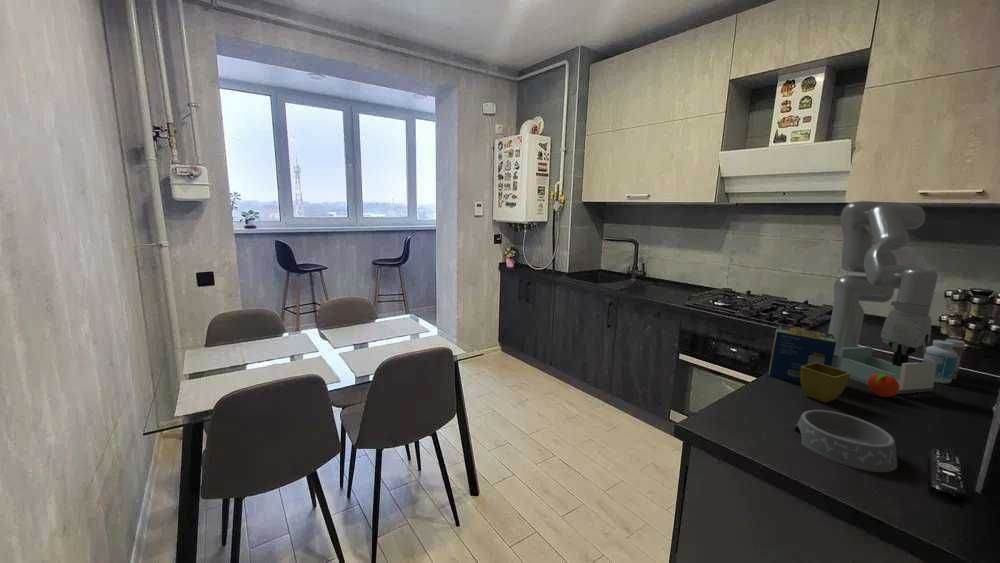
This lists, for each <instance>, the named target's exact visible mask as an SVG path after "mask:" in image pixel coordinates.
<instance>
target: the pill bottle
mask: <svg viewBox="0 0 1000 563" xmlns="http://www.w3.org/2000/svg"><path fill="white" fill-rule="evenodd" d="M953 346H954V344H953V343H951V342H946V341H945V340H940V339H934V340H933V341H932V345H930V346H929V345H928V346H927V347H926V352H923V353H924V354H923V359H922V362H937V365H936V372H935V379H934V383H940V384H951V383H952V380H953V379H952V377H953V372H954V368H955V364H956V360H957V355H958V354H957V352H956V351H954V350H952V348H953Z"/></svg>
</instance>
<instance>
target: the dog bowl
mask: <svg viewBox="0 0 1000 563" xmlns="http://www.w3.org/2000/svg"><path fill="white" fill-rule="evenodd" d="M796 429H798V430H799V432H800V436H801V443H800V444H801V445H802V446H804V447H805V448H806V449H808V450H810V451H811V452H812V453H813V452H814V453H815V454H817V455H819V456H821V457H823V458H825V459H828V460H830V461H832V462H835V463H838V464H840V465H844V466H846V467H849V468H854V469H857V470H862V471H866V472H873V473H889V472H892V471H895V470H896V469H897V468H898V458H897V449H896V448H897V447H896V441H895V438H894V437H893V436H892V435H891V434H890V433H889V432H887V431H886V430H884V428H881V427H880V426H878V425H876V424H873V423H871V422H869V421H866V420H863V419H861V418H858V417H855V416H853V415H848V414H847V413H841V412H837V411H832V410H823V409H811V410H810V409H809V410H805V411H804V412H803V413H802V414H801V415H800V416H799V420H798V422H797V423H796V424H795V427H794V431H795V430H796Z"/></svg>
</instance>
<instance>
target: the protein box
mask: <svg viewBox="0 0 1000 563" xmlns="http://www.w3.org/2000/svg"><path fill="white" fill-rule="evenodd" d="M835 346H836V341H835V339H834V336H833V335H832V334H828V332H820V331H814V330H807V329H802V328H795V327H789V326H783V325H779V324H777V325H776V329H775V335H774V340H773V346H772V350H771V355H770V362H769V370H768V377H771V378H775V379H776V378H777V379H780V380H784V381H789V382H793V383H798V384H801V366H804V365H808V364H812V363H820V364H823V365H827V366H830V367H832V365H833V360H834V356H835V355H834V351H835Z"/></svg>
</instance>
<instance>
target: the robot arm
mask: <svg viewBox="0 0 1000 563" xmlns="http://www.w3.org/2000/svg"><path fill="white" fill-rule="evenodd" d="M925 221H926V212H925V210H924V208H922V207H921V206H920V205H917V204H912V203H905V202H895V201H873V200H871V201H869V200H866V201H865V200H863V201H861V200H860V201H854V202H849V203H847V204H846V205H845V206H844V208H843V209H842V211H841V213H840V225H841V226H840V227H841V231H842V234H843V235H842V236H843V242H842V250H841V252H842V253H841V267H842V269H843V270H844V271H846V272H851V273H857V274H858V273H860V274H865V275H864V276H863V275H847V274H846V275H842V276H840V277H837V279H836V280H835V281H834V286H833V293H834V294H833V298H834V299H833V305H832V312H831V317H830V323H829V328H828V332H827V334H832V335H833V336H834V339H835V341H836V346H835V351H834V356H836V357H838V354H839V349H840V348H848V347H859V346H858V345H859V342H860V336H861V331H862V327H863V323H864V322H863V321H864V316H865V310H864V309H863V307H862V305H861V304H860V302H870V303H887V302H889V301H890V300H891V299H892V298H893V296H894V293H895V289H896V290H897V289H898V292H897V296H896V299H895V301H891V302H890V305H891V306H892V307H893V309H890V311H889V312H888V314H887V316H886V318H885V320H884V323H883V327H882V330H881V334H880V338H881V339H882V340H881V341H882V343H884V344H886V345H888V346H889V347H890V349H891V351H892V353H893V355H892V361H891V363H892V364H893V365H896V366H902V363H909V357H910V355H913V354H914V353H921V354H923V353H925V352H926V348H927V347H929V343H930V340H931V333H932V317H931V316H930V309H931V306H932V302H933V298H934V294H935V290H936V285H937V282H938V273H937V272H936V271H934V270H931V269H924V268H921V267H920V266H919V267H918V266H912V265H910V266H909V265H898V264H897V263H898V262H897V257H896V255H895V253H894V252H893V251H897V250H900V249H903V248H904V247H906V246H907V245H908V244H909V243H910V239H911V238H910V235H909V232H908V230H916V229H917V230H918V228H920V227H922V226H923V225H924V223H925ZM865 225H870V229H871V231H870V230H869V229H868V228H867V227H866V226H865ZM873 241H874V244H873Z"/></svg>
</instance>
